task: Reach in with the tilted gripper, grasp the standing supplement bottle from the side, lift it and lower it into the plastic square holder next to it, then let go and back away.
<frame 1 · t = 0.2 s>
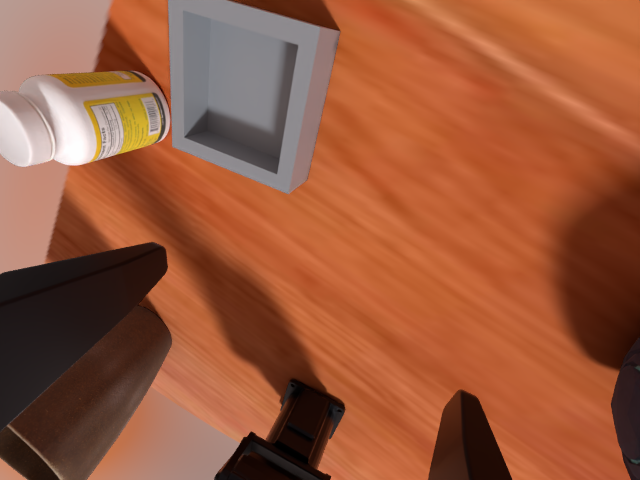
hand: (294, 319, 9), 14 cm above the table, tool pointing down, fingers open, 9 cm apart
supplement bottle: (147, 108, 26), on the table
plant pot: (150, 326, 42), on the table
can holder: (259, 93, 22), on the table
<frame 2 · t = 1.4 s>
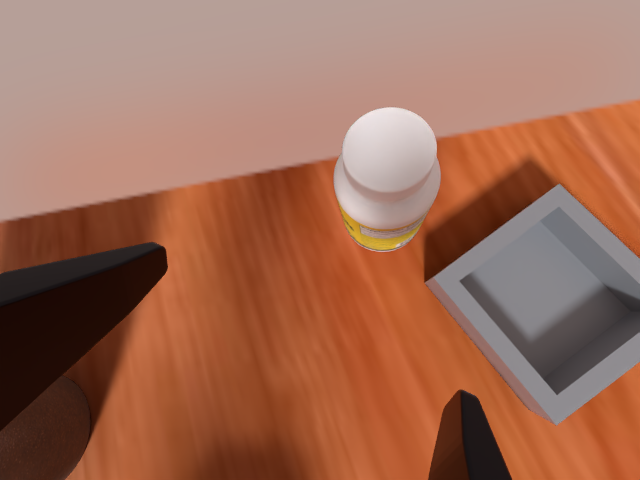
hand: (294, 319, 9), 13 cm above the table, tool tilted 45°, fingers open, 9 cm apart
supplement bottle: (380, 217, 23), on the table
plant pot: (49, 427, 23), on the table
can holder: (531, 298, 20), on the table
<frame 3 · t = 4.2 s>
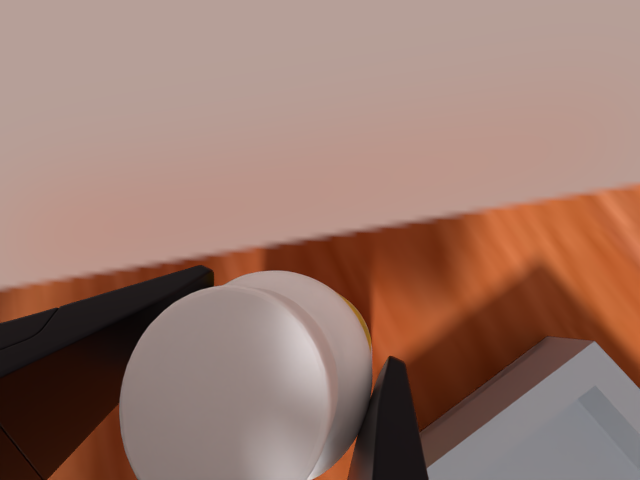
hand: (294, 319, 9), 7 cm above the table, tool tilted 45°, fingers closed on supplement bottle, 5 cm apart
supplement bottle: (313, 347, 15), on the table, touching gripper
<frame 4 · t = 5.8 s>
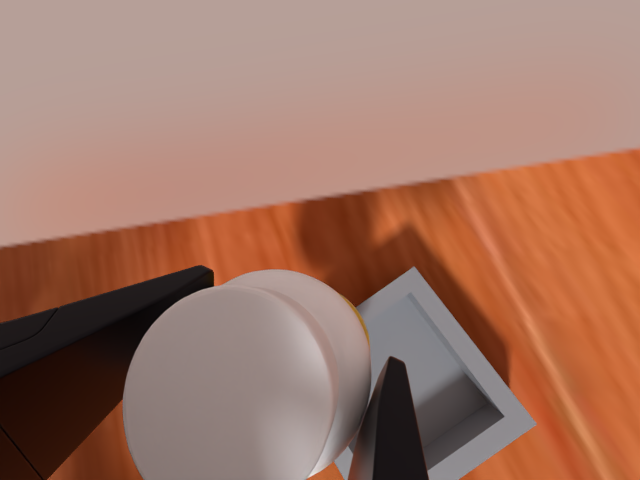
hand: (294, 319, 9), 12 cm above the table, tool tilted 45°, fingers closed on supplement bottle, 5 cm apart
supplement bottle: (311, 344, 15), point 5 cm above the table, touching gripper
can holder: (393, 379, 19), on the table
when the fingers open (8 cm above the table, at t = 7.5 s): supplement bottle stays where it is, resting on can holder.
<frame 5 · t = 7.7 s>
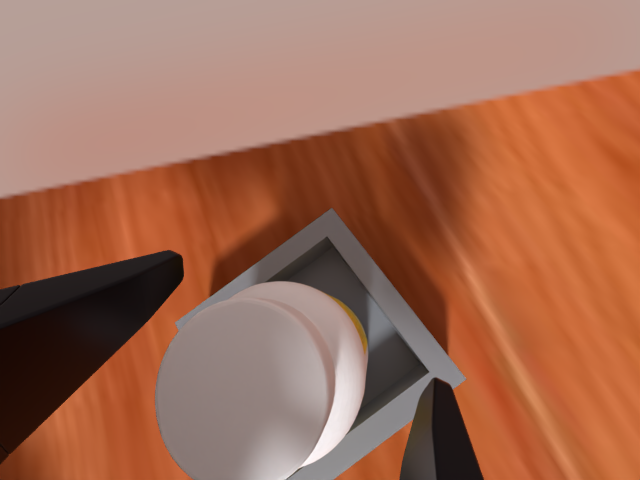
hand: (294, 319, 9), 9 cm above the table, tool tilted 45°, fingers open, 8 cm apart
supplement bottle: (314, 347, 17), resting on can holder
can holder: (318, 343, 17), on the table
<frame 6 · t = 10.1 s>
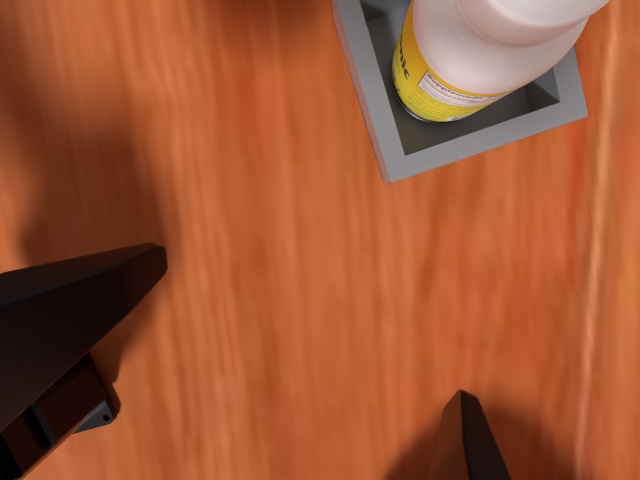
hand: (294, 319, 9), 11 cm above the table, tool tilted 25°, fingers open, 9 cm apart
supplement bottle: (439, 73, 17), resting on can holder
can holder: (440, 73, 18), on the table
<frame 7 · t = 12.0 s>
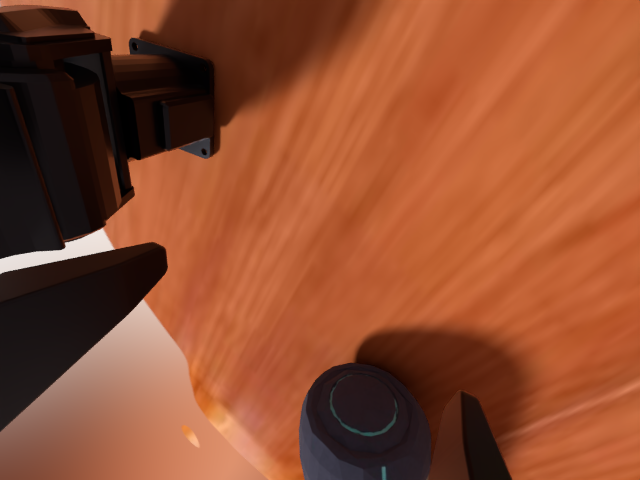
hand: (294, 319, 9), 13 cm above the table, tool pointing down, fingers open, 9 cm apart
portable speaker: (379, 434, 33), on the table
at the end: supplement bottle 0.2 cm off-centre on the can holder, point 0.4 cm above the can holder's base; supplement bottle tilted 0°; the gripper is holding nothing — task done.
